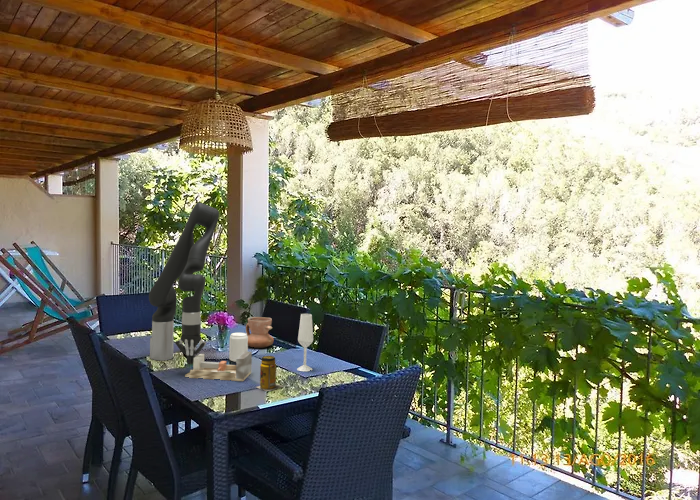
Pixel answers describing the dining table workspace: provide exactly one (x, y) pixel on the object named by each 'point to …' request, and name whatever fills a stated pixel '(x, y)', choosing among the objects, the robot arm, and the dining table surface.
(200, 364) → the plunger
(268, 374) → the condiment
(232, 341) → the beverage can
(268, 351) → the dining table surface
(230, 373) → the frame
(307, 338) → the champagne flute
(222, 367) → the orange stepped bar
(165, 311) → the robot arm
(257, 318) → the ceramic jug
